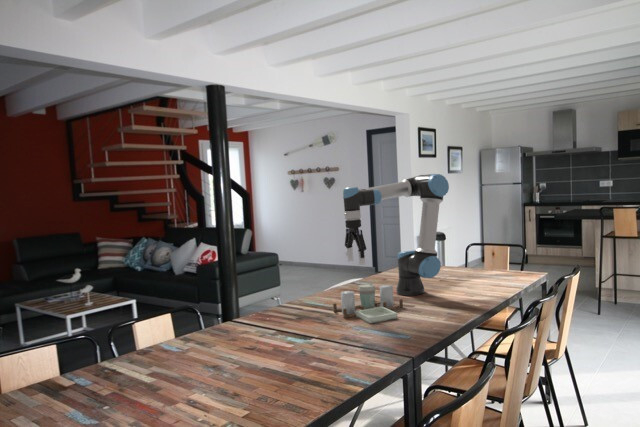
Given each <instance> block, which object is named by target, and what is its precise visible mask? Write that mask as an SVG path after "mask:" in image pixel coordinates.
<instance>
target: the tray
mask: <svg viewBox="0 0 640 427" xmlns="http://www.w3.org/2000/svg"><path fill="white" fill-rule="evenodd" d="M355 313H356V316H355V317H357V318H358V319H360V320H362V321H364V322H365V323H367V324H369V323H370V324H374V323H381V322H386V321H391V320H396V319H398V313H397V312H396V311H393V310H389V309H387V308H385V307H382V306H381V305H380V306H377V307H376V306H375V307H374V308H370V309H364V310H361V309H360V310H355Z"/></svg>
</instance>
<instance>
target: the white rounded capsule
mask: <svg viewBox="0 0 640 427" xmlns="http://www.w3.org/2000/svg"><path fill="white" fill-rule="evenodd" d="M340 302H341V308H342V311H341V314H342V315H343V309H346V310H347V315H348V314H354V313H356V308H355V306H356V301H355V292H354V291H352V290H345V291H341V292H340Z"/></svg>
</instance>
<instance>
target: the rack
mask: <svg viewBox="0 0 640 427" xmlns="http://www.w3.org/2000/svg"><path fill="white" fill-rule="evenodd" d="M398 301H399V302H398V303H399V305H396V306H395V305H394V307H388V308H387V306H386V302H383V307H385V308H387V309H389V310H391V309H392V310H397V309H402V308H404V303H403V302H404V300H403V299H402V298H399V300H398ZM377 304H379V305H381V303H380V301H377V302H376V301H375V304H374V306H378V305H377ZM332 307H333V313H337V312H342V307H341V308H338V307H337V303H336V302H334V303H332ZM360 307H361V308H360ZM396 308H397V309H396ZM355 309H360V310H364V306H362V305H361V304H360V305H355ZM392 310H391V311H392ZM342 315H343V318H344V319H346V318H351V317H356V312H355V313H354V314H348V315H347V310H346V309H343V314H342Z"/></svg>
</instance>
